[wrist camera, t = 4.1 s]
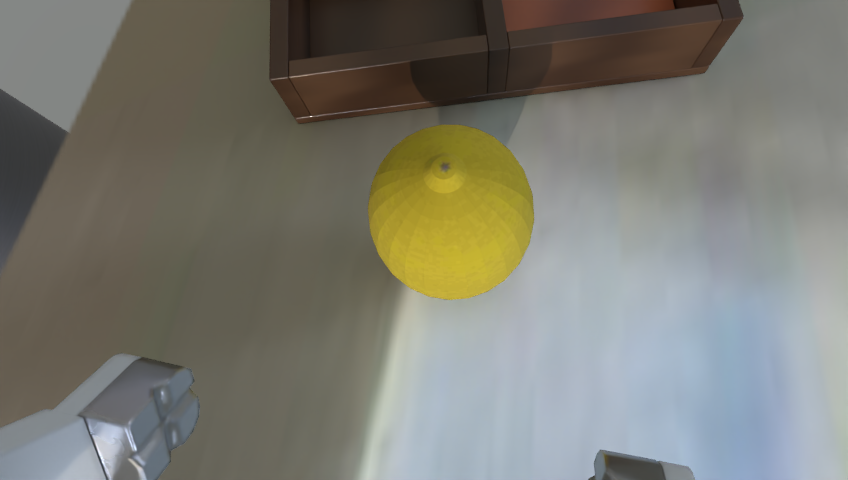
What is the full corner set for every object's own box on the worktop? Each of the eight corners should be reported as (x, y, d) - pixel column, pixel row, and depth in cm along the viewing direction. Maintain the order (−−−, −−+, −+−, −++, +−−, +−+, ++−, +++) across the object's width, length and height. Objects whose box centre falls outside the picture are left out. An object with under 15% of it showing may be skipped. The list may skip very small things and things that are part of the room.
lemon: (467, 343, 20) (462, 312, 12) (363, 259, 21) (300, 185, 14) (549, 237, 21) (592, 146, 13) (444, 163, 22) (428, 44, 15)
